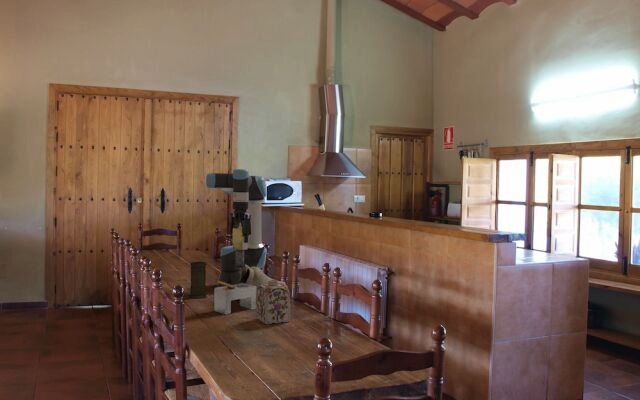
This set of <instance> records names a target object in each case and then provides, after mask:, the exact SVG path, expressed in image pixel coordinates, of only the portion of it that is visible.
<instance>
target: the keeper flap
mask: <svg viewBox="0 0 640 400" xmlns="http://www.w3.org/2000/svg"><path fill="white" fill-rule="evenodd" d="M217 282H218V283H220V284H223V285H225V286H227V287H230V288H235V286H233V285H230V284H227V283H225V282H221V281H218V280H217ZM217 282H216V283H217Z"/></svg>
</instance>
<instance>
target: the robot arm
mask: <svg viewBox="0 0 640 400" xmlns="http://www.w3.org/2000/svg"><path fill="white" fill-rule="evenodd" d="M205 184H206V187H207V188H208V189H219V190H221V191H222V192H223V193H225V194H227V195H230V196H232V201H233V202H232V209H233V210H234V211H233V212H230V222H229V233H230V234H232V236H233V228H239V227H240V226H241V227H242V231H243V235H242V250H244V265H245V264H246V265H247V266H249V267H258V268H259V269H262V268H265V264H266V261H267V260H266V258H267V253H268V249H267V247H265V244H264V243H263V241H262V237H263V236H262V235H263V234H262V231H263V230H262V203H263V201H265V198H266V197H267V193H268V192H267V191H268V190H267V183H266V179H265V178H264V177H263V176H261V175H250V174H249V169H247V168H243V169H242V168H235V169H233V170H232V172H231V173H230V172H229V173H227V172H226V173H225V172H224V173H221V172H209V173H206V177H205ZM240 224H241V225H240ZM242 268H243V266H236V250H235V249H233V245H228V246H224V247H222V248H221V249H220V272H219V277H218V280H217V281H221V282H225V283H227V284H230V285H236V284H237V283H238V281H239V280H240V278H241V270H242ZM216 283H217V286H216V287H224V286H225V285H223V284H220V283H218V282H216Z"/></svg>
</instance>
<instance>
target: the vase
mask: <svg viewBox="0 0 640 400" xmlns="http://www.w3.org/2000/svg"><path fill="white" fill-rule="evenodd" d="M269 280H275V279H274V278H271V277H270V276H268V275H267V274H265V273H264V271H263V270H262V268H258V267H249V266H247V265H246V264H245V265H244V266H243V268H241V278H240V280H239V281H238V283H237V284H243V283H246V284H251V285H255V286H256V299H257V289H258V288H259V286H260V285H262V284H265V283H268V281H269ZM278 283H281V284H285V285H286V282H285V281H280V280H278Z"/></svg>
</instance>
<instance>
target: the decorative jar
mask: <svg viewBox="0 0 640 400" xmlns="http://www.w3.org/2000/svg"><path fill="white" fill-rule="evenodd" d="M278 281H279V280H277V279H274V280H269V281H268V283H265V284H262V285H260V286H259V288H258V289H257V298H256V318H257V320H259V321H260V322H262V323H263V324H265V325H273V324H272V323H275V324H282V323H281V322H283V323H289V322H290V312H291V308H290V307H291V293H290V292H291V291H290V290H289V287H288V285H285V284H286V283H285V284H281V283H278ZM288 321H289V322H288Z"/></svg>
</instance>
